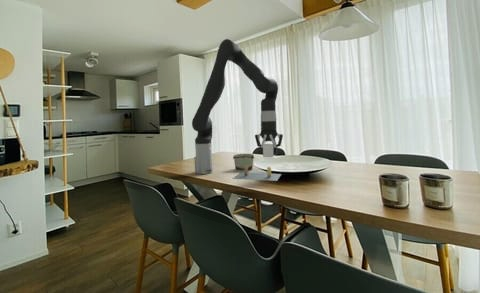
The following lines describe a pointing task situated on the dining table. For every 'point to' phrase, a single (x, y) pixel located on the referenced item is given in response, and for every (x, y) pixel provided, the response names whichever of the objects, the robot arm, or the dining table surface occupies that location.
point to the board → (257, 175)
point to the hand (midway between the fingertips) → (269, 155)
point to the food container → (243, 161)
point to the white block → (268, 150)
